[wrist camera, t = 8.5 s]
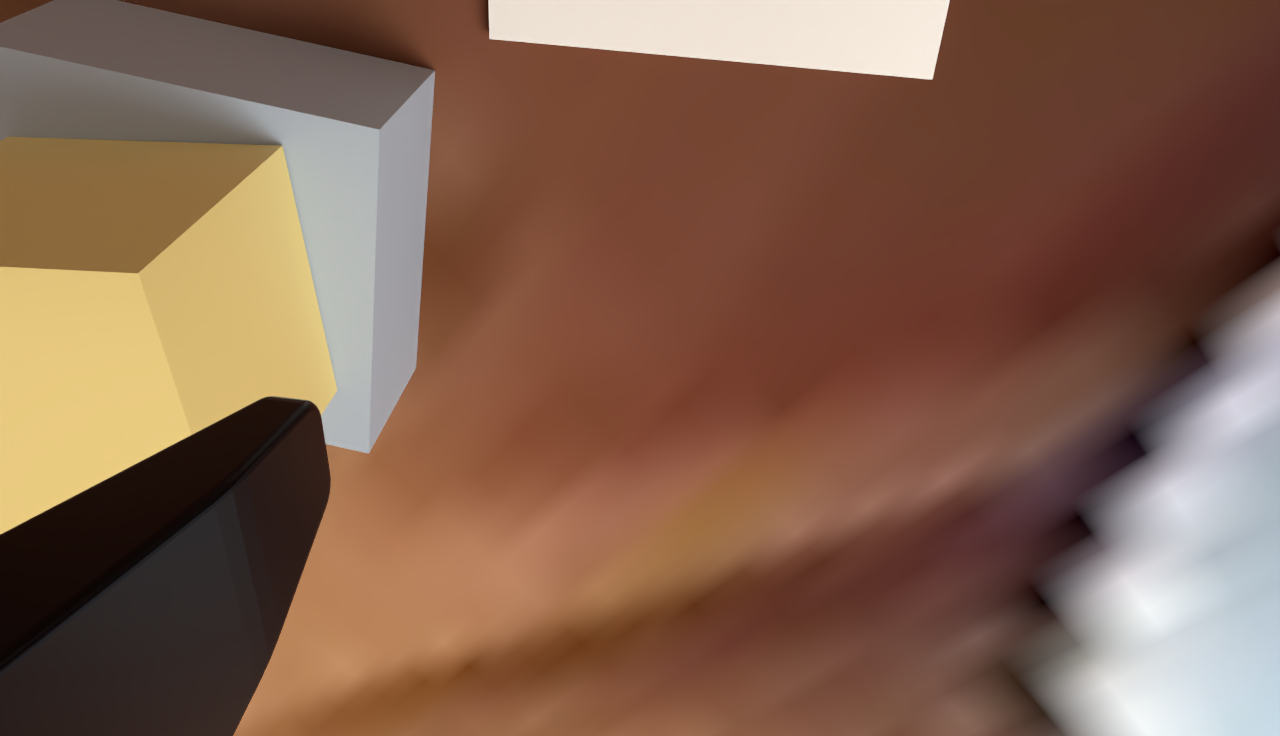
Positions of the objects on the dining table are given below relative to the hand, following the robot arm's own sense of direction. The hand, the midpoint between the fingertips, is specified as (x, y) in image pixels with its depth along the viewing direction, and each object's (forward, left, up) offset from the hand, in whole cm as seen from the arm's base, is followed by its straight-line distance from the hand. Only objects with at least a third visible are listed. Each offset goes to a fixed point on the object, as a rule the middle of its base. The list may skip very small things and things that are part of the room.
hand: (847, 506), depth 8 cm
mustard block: (+11, +4, -9) cm, 15 cm away
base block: (+11, +4, -12) cm, 17 cm away
